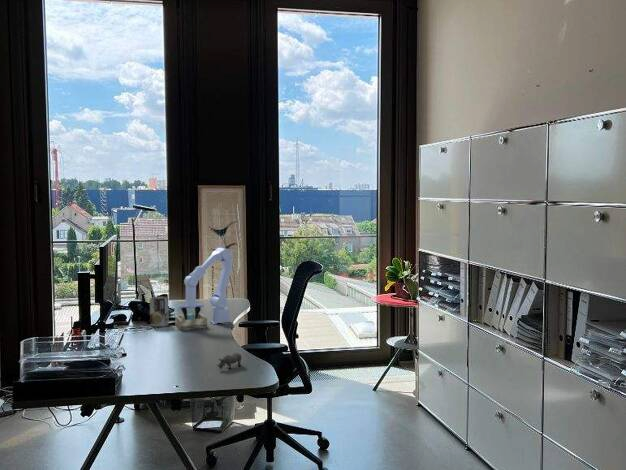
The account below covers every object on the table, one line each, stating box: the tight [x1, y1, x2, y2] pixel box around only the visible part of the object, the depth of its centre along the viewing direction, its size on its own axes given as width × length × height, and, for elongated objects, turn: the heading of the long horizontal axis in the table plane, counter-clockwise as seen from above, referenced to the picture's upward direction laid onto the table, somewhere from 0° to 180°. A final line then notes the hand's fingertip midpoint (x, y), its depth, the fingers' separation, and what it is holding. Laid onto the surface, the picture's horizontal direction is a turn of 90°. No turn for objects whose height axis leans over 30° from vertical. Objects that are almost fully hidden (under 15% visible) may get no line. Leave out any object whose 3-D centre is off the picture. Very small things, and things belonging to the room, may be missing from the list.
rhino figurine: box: [216, 352, 243, 370], centre depth 254 cm, size 4×14×6 cm, turn 137°
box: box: [174, 313, 208, 332], centre depth 332 cm, size 15×15×6 cm
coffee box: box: [149, 296, 170, 327], centre depth 335 cm, size 9×6×16 cm
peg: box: [187, 313, 195, 320], centre depth 332 cm, size 4×4×7 cm
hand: (191, 320), depth 332 cm, fingers open, 5 cm apart
